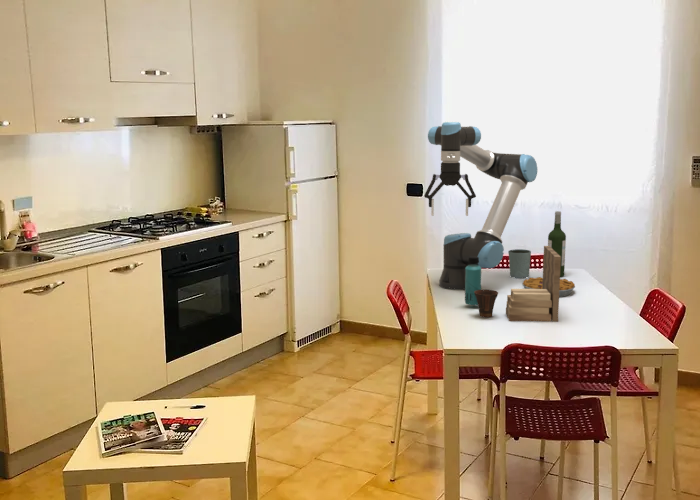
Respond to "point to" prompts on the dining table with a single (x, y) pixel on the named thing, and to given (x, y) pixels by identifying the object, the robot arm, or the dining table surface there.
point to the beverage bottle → (472, 281)
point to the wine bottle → (558, 241)
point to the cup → (485, 302)
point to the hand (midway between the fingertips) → (449, 215)
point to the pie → (537, 283)
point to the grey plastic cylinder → (519, 263)
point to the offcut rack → (538, 294)
